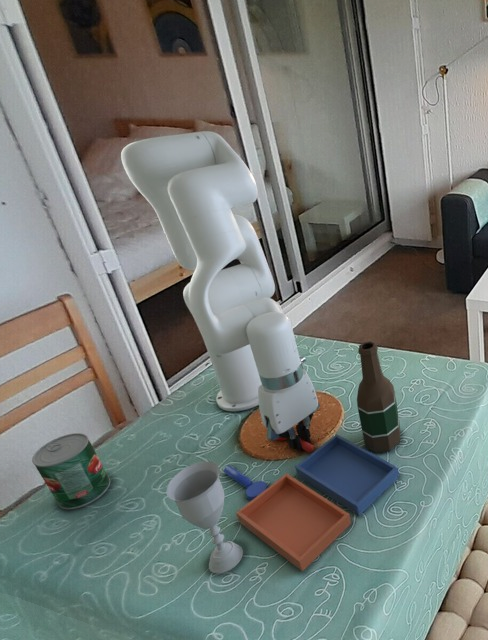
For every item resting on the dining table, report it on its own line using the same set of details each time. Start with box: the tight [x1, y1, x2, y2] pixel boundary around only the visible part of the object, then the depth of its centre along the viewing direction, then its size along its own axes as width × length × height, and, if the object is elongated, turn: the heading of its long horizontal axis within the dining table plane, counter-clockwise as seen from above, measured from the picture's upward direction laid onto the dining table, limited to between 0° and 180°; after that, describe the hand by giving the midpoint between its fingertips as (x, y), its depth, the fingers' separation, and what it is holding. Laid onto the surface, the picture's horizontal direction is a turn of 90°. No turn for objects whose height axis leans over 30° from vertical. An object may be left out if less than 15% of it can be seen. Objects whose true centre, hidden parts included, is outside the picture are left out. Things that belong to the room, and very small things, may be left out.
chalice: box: [166, 460, 244, 575], centre depth 78 cm, size 7×7×18 cm
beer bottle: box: [356, 341, 401, 454], centre depth 100 cm, size 8×8×24 cm
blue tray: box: [294, 433, 400, 517], centre depth 96 cm, size 17×10×2 cm, turn 58°
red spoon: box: [276, 437, 315, 454], centre depth 105 cm, size 12×4×2 cm, turn 58°
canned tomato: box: [31, 432, 111, 510], centre depth 92 cm, size 8×8×11 cm
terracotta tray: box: [235, 473, 352, 572], centre depth 87 cm, size 17×10×2 cm, turn 58°
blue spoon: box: [223, 465, 269, 501], centre depth 95 cm, size 12×4×2 cm, turn 58°
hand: (301, 445), depth 104 cm, fingers closed on red spoon, 1 cm apart
